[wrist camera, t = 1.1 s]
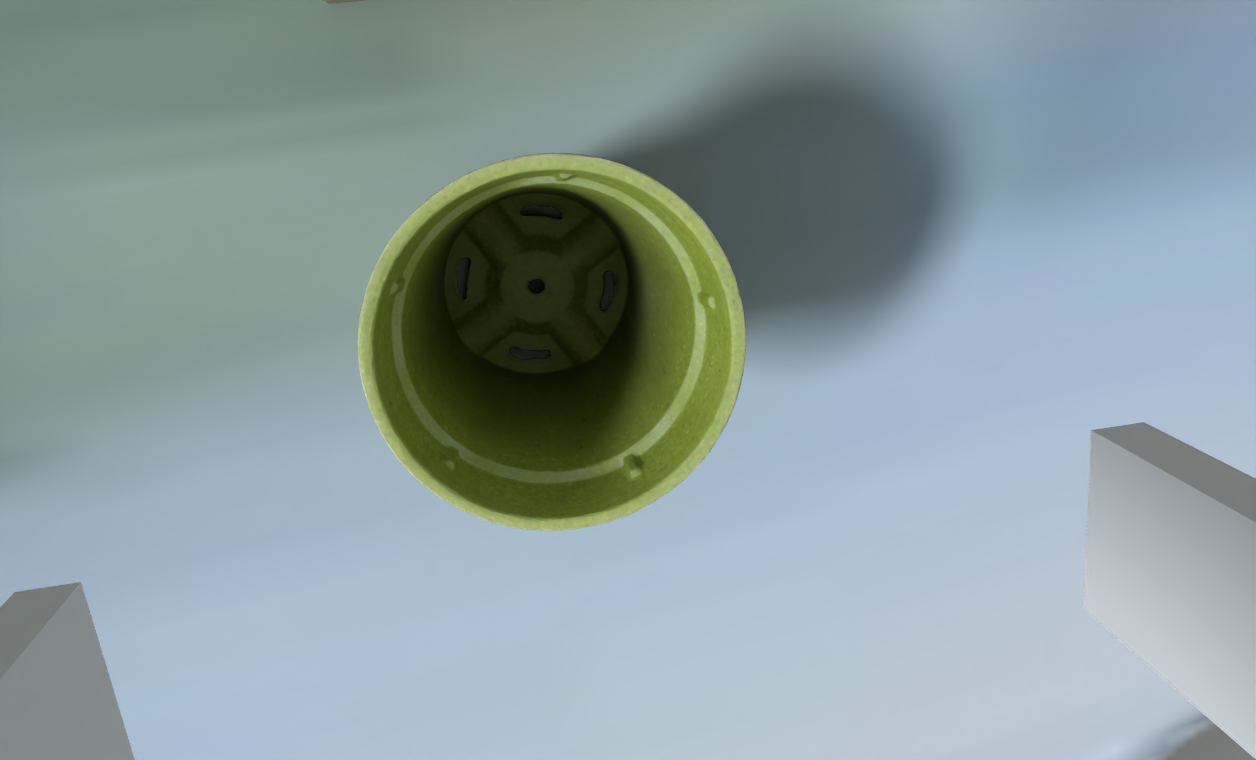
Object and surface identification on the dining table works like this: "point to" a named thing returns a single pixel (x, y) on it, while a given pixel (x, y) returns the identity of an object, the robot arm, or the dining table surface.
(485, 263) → the plant pot
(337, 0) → the birch pedestal block
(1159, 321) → the dining table surface
